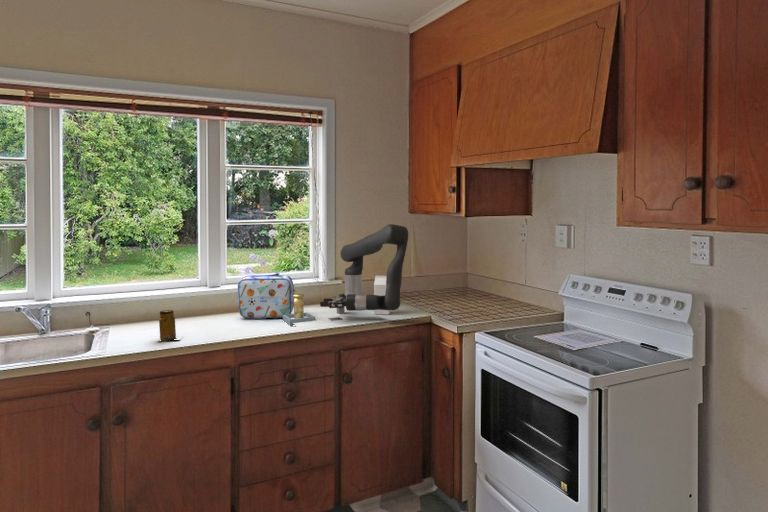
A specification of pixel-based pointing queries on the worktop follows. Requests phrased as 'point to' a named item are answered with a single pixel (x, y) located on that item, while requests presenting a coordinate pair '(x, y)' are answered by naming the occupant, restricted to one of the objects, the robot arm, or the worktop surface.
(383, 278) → the milk carton
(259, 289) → the lunch box
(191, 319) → the worktop surface
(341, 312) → the tensioner bracket
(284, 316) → the grey open frame
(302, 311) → the pin
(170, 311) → the condiment
